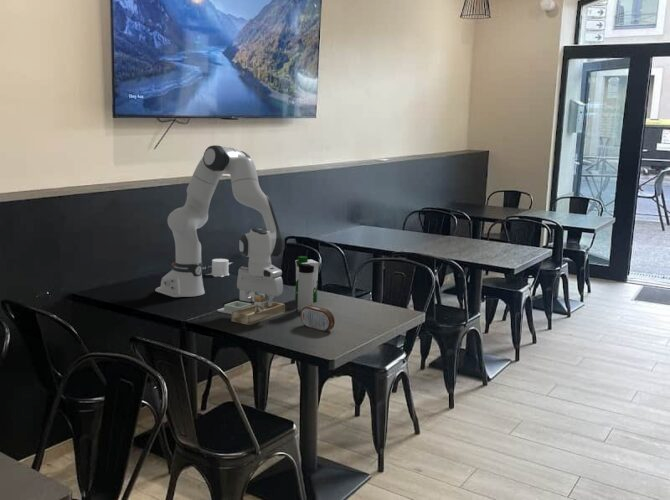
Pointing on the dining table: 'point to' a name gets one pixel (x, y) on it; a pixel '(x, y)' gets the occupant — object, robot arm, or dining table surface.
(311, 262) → the milk carton
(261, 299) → the cell
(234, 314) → the trough
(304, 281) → the travel mug
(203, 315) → the dining table surface
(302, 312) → the tin
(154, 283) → the dining table surface
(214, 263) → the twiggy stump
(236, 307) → the checker cradle
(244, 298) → the medicine bottle
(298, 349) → the dining table surface
